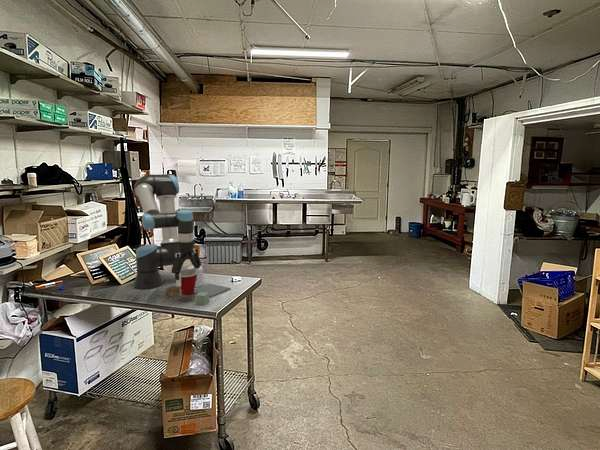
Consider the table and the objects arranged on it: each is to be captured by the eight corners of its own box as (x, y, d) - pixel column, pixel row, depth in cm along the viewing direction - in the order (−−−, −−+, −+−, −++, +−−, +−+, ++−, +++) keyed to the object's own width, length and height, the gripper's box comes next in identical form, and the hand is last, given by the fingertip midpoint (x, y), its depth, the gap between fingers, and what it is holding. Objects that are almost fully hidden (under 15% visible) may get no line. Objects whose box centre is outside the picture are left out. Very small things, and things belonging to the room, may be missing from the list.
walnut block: (166, 296, 196) (165, 287, 195) (173, 294, 200) (173, 285, 200) (172, 298, 193) (172, 289, 193) (180, 295, 198) (179, 286, 197)
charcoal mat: (188, 292, 202) (188, 291, 202) (209, 285, 216) (209, 283, 216) (210, 297, 195) (210, 296, 194) (230, 289, 208) (230, 287, 208)
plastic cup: (173, 297, 186) (172, 274, 185) (181, 290, 197) (180, 268, 195) (194, 298, 186) (193, 274, 184) (201, 291, 197) (200, 269, 195)
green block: (195, 304, 185) (195, 294, 184) (200, 301, 190) (200, 291, 189) (204, 305, 184) (204, 295, 183) (209, 302, 188) (209, 292, 188)
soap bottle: (184, 286, 213) (182, 244, 210) (192, 282, 222) (191, 241, 218) (197, 288, 210) (196, 245, 207) (206, 283, 219) (204, 242, 216)
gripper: (173, 245, 175) (174, 290, 179) (207, 238, 195) (208, 278, 199) (162, 244, 179) (164, 287, 182) (197, 236, 199) (198, 276, 202)
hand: (187, 282), depth 191 cm, fingers closed on plastic cup, 11 cm apart
